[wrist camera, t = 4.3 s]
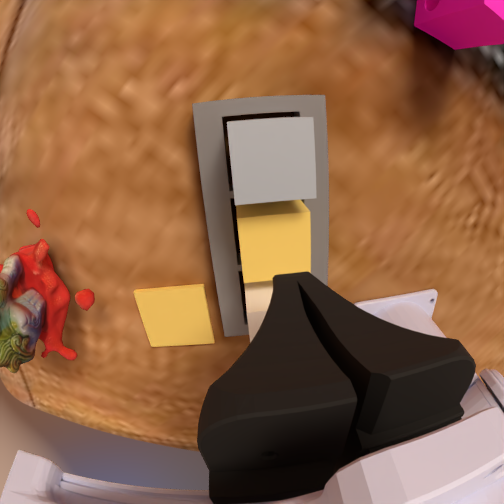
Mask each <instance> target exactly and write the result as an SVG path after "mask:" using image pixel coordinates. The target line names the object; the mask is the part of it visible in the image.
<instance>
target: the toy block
mask: <svg viewBox="0 0 504 504" xmlns="http://www.w3.org/2000/svg"><path fill="white" fill-rule="evenodd" d="M414 26H415V27H417V28H419V29H421V30H422V31H424V32H426V33H428V34H430V35H431V36H433V37H435V38H436V39H438V40H440V41H441V42H443V43H445V44H446V45H448V46H449V47H451V48H453V49H454V50H457V49H463V48H470V47H478V46H486V45H496V44H504V0H417V5H416V13H415V21H414Z"/></svg>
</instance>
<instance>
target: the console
mask: <svg viewBox="0 0 504 504" xmlns="http://www.w3.org/2000/svg"><path fill="white" fill-rule="evenodd" d="M192 106H193V115H194V125H195V134H196V143H197V151H198V160H199V168H200V176H201V184H202V192H203V199H204V207H205V214H206V221H207V228H208V235H209V242H210V249H211V256H212V262H213V269H214V275H215V281H216V288H217V294H218V300H219V306H220V312H221V318H222V323H223V329H224V335H225V337H229V336H240V335H249V328H248V319H247V311H244V310H243V301H242V293H241V284H240V276H239V271H242V262H241V254H237V250H236V241H235V232H234V223H233V213H232V204H231V198H234V190H233V185H229V176H228V166H227V156H226V146H225V136H224V126H223V117H226V116H236V115H248V114H261V113H278V112H294V117H313V121H314V139H315V162H316V196H317V198H313V199H301V201H302V202H303V203H304V204H305V206H306V207H307V208H308V209H309V211H310V221H311V274H312V275H314V276H315V277H316V278H317V279H319V280H320V281H321V282H322V283H324V284H325V285H326V286H327V280H328V249H329V171H328V140H327V120H326V103H325V95H287V96H265V97H250V98H238V99H227V100H218V101H209V102H202V103H194V104H192Z"/></svg>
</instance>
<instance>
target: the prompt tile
mask: <svg viewBox="0 0 504 504" xmlns="http://www.w3.org/2000/svg"><path fill="white" fill-rule="evenodd" d="M134 296H135V299H136V302H137V306H138V309H139V312H140V315H141V318H142V321H143V324H144V327H145V330H146V333H147V336H148V338H149V341H150V344H151V347H156V346H179V345H196V344H211V343H215V339H214V334H213V329H212V324H211V319H210V314H209V309H208V303H207V298H206V293H205V287H204V284H195V285H184V286H173V287H161V288H149V289H136V290H134Z"/></svg>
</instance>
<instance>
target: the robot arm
mask: <svg viewBox="0 0 504 504" xmlns="http://www.w3.org/2000/svg"><path fill="white" fill-rule="evenodd" d="M437 294H438V293H437V291H436V290H435V289H430V290H425V291H420V292H414V293H409V294H404V295H398V296H392V297H387V298H381V299H375V300H369V301H362V302H357V303H355V304H352V303H351V302H349V301H347V300H346V299H344V298H343V297H341V296H340V295H339V294H337V293H336V292H334V291H333V290H332V289H330V288H329V287H328V286H326V285H325V284H324V283H322V282H321V281H320V280H319V279H317V278H316V277H315V276H314V275H312V274H311V273H310V272H308V271H306V272H297V273H288V274H279V275H275V276H274V277H273V292H272V296H271V300H270V304H269V307H268V310H267V312H266V315H265V317H264V320H263V322H262V324H261V326H260V328H259V330H258V331H257V333H256V335H255V337H254V338H253V340H252V341H251V343H250V344H249V346H248V347H247V349H246V350H245V351H244V353H243V354H242V355H241V356H240V357H239V358H238V360H237V361H236V362H235V363H234V364H233V365H232V367H231V368H230V369H229V370H228V371H227V372H225V373H224V374H223V375H222V376H221V377H220V378H219V379H218V380H216V381H215V382H214V383H213V384H212V385H211V386H210V387H209V389H208V392H207V395H206V397H205V400H204V403H203V406H202V410H201V414H200V418H199V423H198V437H197V443H198V448H199V451H200V453H201V455H202V457H203V459H204V461H205V463H206V465H207V467H208V469H209V490H202V491H201V490H175V489H160V488H148V487H139V486H132V485H125V484H118V483H112V482H106V481H100V480H95V479H90V478H86V477H81V476H77V475H73V474H69V473H65V472H62V470H61V469H60V468H59V467H58V466H57V465H56V464H55V463H54V462H52V461H51V460H49V459H47V458H45V457H42V456H39V455H35V454H32V453H29V452H26V451H23V450H18V452H17V454H16V457H15V459H14V462H13V465H12V467H11V470H10V473H9V475H8V478H7V481H6V484H5V487H4V490H3V492H2V496H1V499H0V504H504V377H503V376H502V375H501V374H500V373H499V372H498V371H497V370H488V369H484V370H483V371H482V372H481V373H480V374H479V375H480V377H481V379H482V380H483V382H484V383H485V385H486V387H487V388H486V387H485V385H484V384H483V383H482V381H481V380H480V379H479V377H478V376H477V374H476V373H475V368H476V364H475V362H474V359H473V358H472V357H471V355H470V354H469V353H468V352H467V350H466V349H465V348H464V346H463V345H462V344H461V343H460V342H459V340H456V339H450V338H446V337H445V335H444V334H443V333H442V332H441V330H440V329H439V328H438V327H437V325H436V324H435V323H434V322H433V320H432V319H431V318H432V314H433V310H434V307H435V303H436V299H437ZM431 299H432V300H431ZM430 300H431V301H430Z"/></svg>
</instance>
